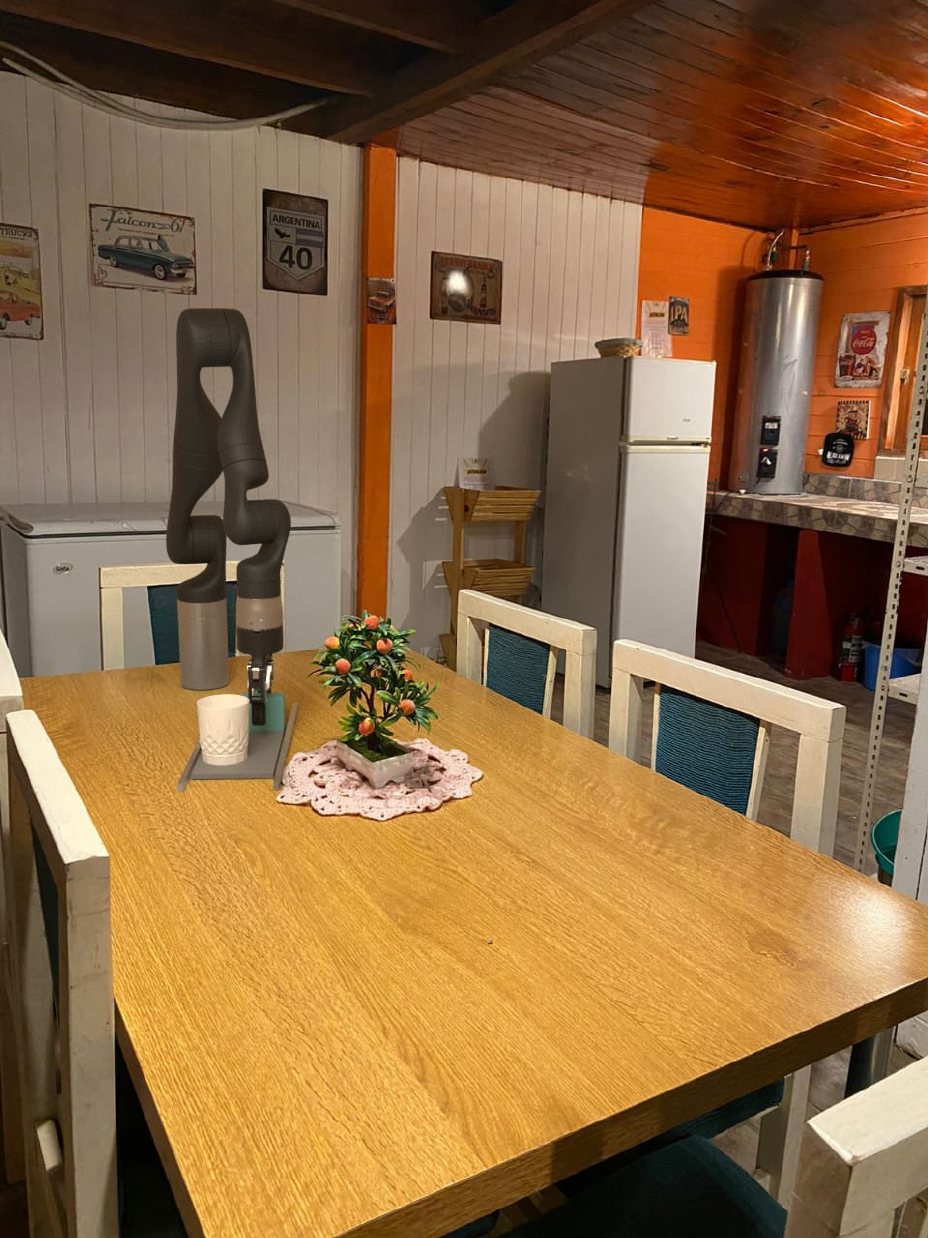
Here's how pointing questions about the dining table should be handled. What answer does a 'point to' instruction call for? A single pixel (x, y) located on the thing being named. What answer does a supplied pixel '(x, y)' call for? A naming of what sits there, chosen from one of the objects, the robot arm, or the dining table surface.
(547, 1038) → the dining table surface
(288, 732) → the rails
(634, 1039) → the dining table surface
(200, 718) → the white cup
